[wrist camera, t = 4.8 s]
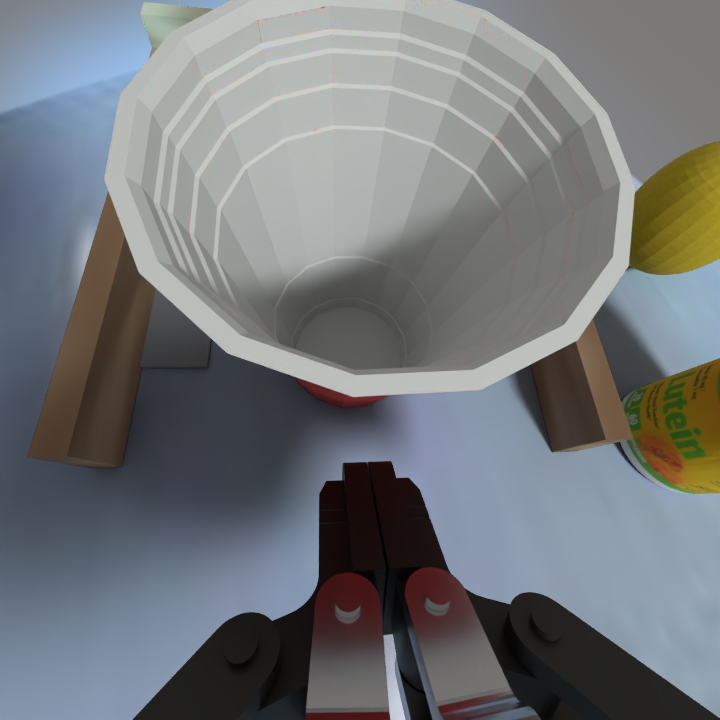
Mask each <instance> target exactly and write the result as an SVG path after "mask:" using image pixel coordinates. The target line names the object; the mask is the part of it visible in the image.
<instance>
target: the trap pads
mask: <svg viewBox="0 0 720 720" xmlns="http://www.w3.org/2000/svg"><path fill="white" fill-rule="evenodd" d="M211 340H212V339H211V338H210V337H209V336H208V335H207V334H206V333H205V332H203V331H202V330H201V329H200V328H199V327H198V326H197V325H196V324H195V323H194V322H192V321H191V320H190V319H189V318H188V317H187V316H186V315H185V314H184V313H183V312H182V311H180V310H179V309H178V308H177V307H176V306H175V305H174V304H173V303H172V302H171V301H169V300H168V299H167V298H166V297H165V296H164V295H163V294H162V293H161V292H160V291H158V290H157V289H156V291H155V296H154V301H153V305H152V310H151V315H150V320H149V325H148V330H147V334H146V339H145V344H144V349H143V354H142V359H141V363H140V367H141V368H208V363H209V355H210V347H211Z"/></svg>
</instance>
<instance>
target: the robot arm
mask: <svg viewBox="0 0 720 720" xmlns="http://www.w3.org/2000/svg"><path fill="white" fill-rule="evenodd" d="M388 634H393V637H394V643H395V649H396V660H395V674H396V679H397V683H398V688H399V692H400V697H401V701H402V706H403V710H404V715H405V719H406V720H720V718H718V717H717V716H716V715H714V714H713V713H711V712H710V711H709V710H707V709H706V708H704V707H703V706H702V705H700V704H699V703H697V702H696V701H695V700H693V699H692V698H690V697H689V696H688V695H686V694H685V693H683V692H682V691H681V690H679V689H678V688H676V687H675V686H674V685H672V684H671V683H669V682H668V681H667V680H665V679H664V678H662V677H661V676H660V675H658V674H657V673H655V672H654V671H653V670H651V669H650V668H648V667H647V666H645V665H644V664H643V663H641V662H640V661H638V660H637V659H636V658H634V657H633V656H631V655H630V654H629V653H627V652H626V651H624V650H623V649H622V648H620V647H619V646H617V645H616V644H615V643H613V642H612V641H610V640H609V639H608V638H606V637H605V636H603V635H602V634H601V633H599V632H598V631H596V630H595V629H594V628H592V627H591V626H589V625H588V624H587V623H585V622H584V621H582V620H581V619H580V618H578V617H577V616H575V615H574V614H572V613H571V612H570V611H568V610H567V609H565V608H564V607H563V606H561V605H560V604H558V603H557V602H555V601H554V600H552V599H551V598H549V597H547V596H544V595H541V594H538V593H532V592H527V593H522V594H519V595H518V596H516V597H515V598H514V599H513V600H512V602H511V604H506V603H503V602H499V601H495V600H491V599H487V598H484V597H481V596H478V595H475V594H473V593H471V592H470V591H468V590H466V589H465V588H464V587H463V586H462V584H461V583H460V582H459V581H458V580H457V579H456V578H455V577H454V576H453V575H452V574H451V573H450V571H449V569H448V567H447V565H446V562H445V559H444V556H443V553H442V551H441V548H440V545H439V542H438V539H437V537H436V534H435V531H434V528H433V525H432V523H431V520H430V519H429V514H428V511H427V509H426V507H425V503H424V500H423V497H422V495H421V492H420V489H419V488H418V487H417V486H416V485H415V484H414V483H413V482H412V481H411V480H410V479H409V478H396V475H395V472H394V468H393V465H392V462H391V461H384V462H368V463H366V462H357V463H343V471H342V480H341V481H326V483H325V485H324V486H323V488H322V490H321V492H320V494H319V579H318V583H317V586H316V589H315V591H314V593H313V594H312V596H311V597H310V599H309V600H308V601H307V602H306V603H305V604H304V605H303V606H302V607H300V608H299V609H297V610H296V611H294V612H292V613H290V614H287V615H285V616H283V617H281V618H278V619H276V620H274V621H271V620H270V619H269V618H268V617H266V616H265V615H263V614H260V613H254V612H249V613H243V614H240V615H237V616H235V617H233V618H231V619H229V620H228V621H226V622H225V623H224V624H222V625H221V626H220V627H219V628H218V629H217V630H216V631H215V632H214V633H213V635H212V636H211V637H210V638H209V639H208V640H207V641H206V642H205V643H204V644H203V645H202V646H201V647H200V648H199V649H198V651H197V652H196V653H195V654H194V655H193V656H192V657H191V658H190V659H189V660H188V661H187V662H186V663H185V664H184V665H183V666H182V668H181V669H180V670H179V671H178V672H177V673H176V674H175V675H174V676H173V677H172V678H171V679H170V680H169V681H168V682H167V684H166V685H165V686H164V687H163V688H162V689H161V690H160V691H159V692H158V693H157V694H156V695H155V696H154V697H153V698H152V700H151V701H150V702H149V703H148V704H147V705H146V706H145V707H144V708H143V709H142V710H141V711H140V712H139V713H138V714H137V716H136V717H135V718H134V719H133V720H390V714H389V703H388V691H387V678H386V665H385V653H384V640H383V635H388Z"/></svg>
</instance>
